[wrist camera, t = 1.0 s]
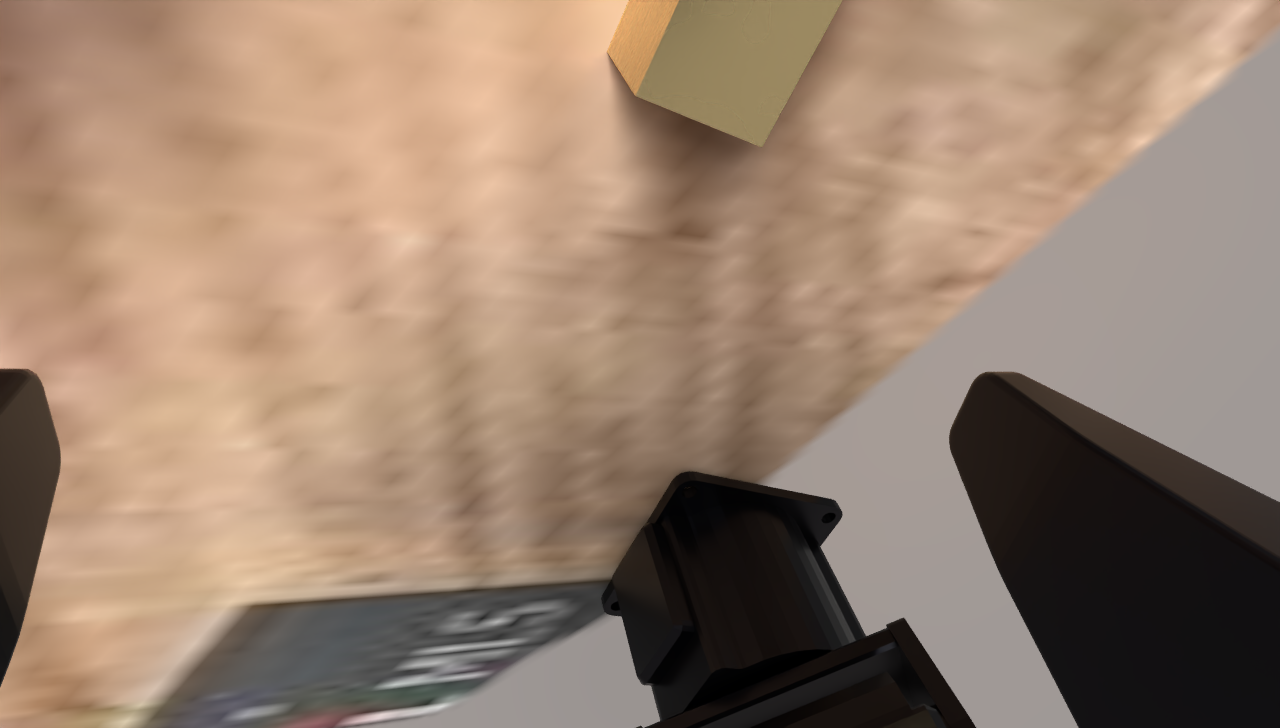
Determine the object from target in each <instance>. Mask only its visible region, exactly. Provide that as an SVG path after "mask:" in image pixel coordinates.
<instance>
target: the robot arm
mask: <svg viewBox="0 0 1280 728" xmlns="http://www.w3.org/2000/svg"><path fill="white" fill-rule="evenodd" d="M949 444H950V450H951V453H952V456H953V458H954V461H955V463H956V466H957V468H958V471H959V473H960V476H961V479H962V481H963V483H964V486H965V489H966V491H967V494H968V496H969V499H970V501H971V504H972V506H973V509H974V512H975V514H976V517H977V519H978V522H979V524H980V527H981V529H982V532H983V534H984V537H985V539H986V542H987V544H988V547H989V549H990V552H991V554H992V556H993V559H994V561H995V563H996V566H997V568H998V570H999V572H1000V574H1001V577H1002V579H1003V581H1004V583H1005V585H1006V587H1007V589H1008V591H1009V593H1010V594H1011V597H1012V599H1013V601H1014V602H1015V604H1016V606H1017V608H1018V610H1019V612H1020V614H1021V616H1022V618H1023V620H1024V622H1025V624H1026V626H1027V627H1028V629H1029V632H1030V634H1031V636H1032V638H1033V639H1034V641H1035V643H1036V645H1037V647H1038V649H1039V651H1040V653H1041V655H1042V657H1043V659H1044V661H1045V663H1046V665H1047V667H1048V668H1049V671H1050V673H1051V675H1052V677H1053V678H1054V680H1055V682H1056V684H1057V686H1058V688H1059V690H1060V692H1061V694H1062V696H1063V698H1064V700H1065V702H1066V704H1067V706H1068V708H1069V710H1070V712H1071V714H1072V715H1073V717H1074V719H1075V721H1076V723H1077V725H1078V727H1079V728H1280V502H1278V501H1276V500H1274V499H1272V498H1270V497H1268V496H1266V495H1264V494H1262V493H1260V492H1258V491H1256V490H1254V489H1252V488H1250V487H1248V486H1246V485H1244V484H1242V483H1240V482H1238V481H1236V480H1234V479H1232V478H1230V477H1228V476H1226V475H1224V474H1222V473H1220V472H1217V471H1215V470H1214V469H1212V468H1210V467H1207V466H1206V465H1204V464H1202V463H1200V462H1197V461H1195V460H1194V459H1191V458H1190V457H1187V456H1185V455H1183V454H1181V453H1179V452H1177V451H1175V450H1173V449H1171V448H1169V447H1167V446H1165V445H1163V444H1161V443H1159V442H1157V441H1155V440H1153V439H1151V438H1149V437H1147V436H1145V435H1143V434H1141V433H1139V432H1137V431H1135V430H1133V429H1131V428H1129V427H1127V426H1125V425H1123V424H1121V423H1119V422H1117V421H1115V420H1113V419H1111V418H1109V417H1107V416H1105V415H1103V414H1101V413H1099V412H1097V411H1095V410H1093V409H1091V408H1089V407H1087V406H1085V405H1083V404H1081V403H1079V402H1077V401H1075V400H1073V399H1070V398H1069V397H1067V396H1065V395H1063V394H1061V393H1059V392H1057V391H1055V390H1053V389H1050V388H1048V387H1047V386H1045V385H1042V384H1041V383H1038V382H1037V381H1035V380H1033V379H1030V378H1028V377H1026V376H1024V375H1022V374H1020V373H1015V372H985V373H982V374H980V375H979V376H978V377H977V378H976V379H975V380H974V381H973V383H972V384H971V387H970V389H969V391H968V393H967V395H966V397H965V399H964V402H963V404H962V406H961V408H960V410H959V412H958V414H957V416H956V418H955V420H954V423H953V425H952V427H951V430H950V435H949ZM60 466H61V452H60V445H59V441H58V437H57V434H56V430H55V427H54V423H53V420H52V416H51V412H50V409H49V405H48V402H47V398H46V395H45V391H44V387H43V385H42V382H41V380H40V379H39V377H38V376H37V374H35V373H34V372H32V371H30V370H29V369H0V687H1V684H2V682H3V679H4V676H5V674H6V671H7V669H8V666H9V663H10V661H11V658H12V655H13V652H14V649H15V646H16V644H17V641H18V638H19V635H20V631H21V628H22V624H23V620H24V617H25V613H26V610H27V606H28V601H29V597H30V593H31V589H32V585H33V581H34V577H35V573H36V569H37V564H38V560H39V556H40V552H41V548H42V544H43V540H44V536H45V532H46V527H47V523H48V519H49V515H50V511H51V507H52V503H53V499H54V495H55V490H56V486H57V482H58V478H59V473H60ZM689 486H691V487H690V488H687V489H685V488H686V487H689ZM841 518H842V511H841V509H840V507H839V505H838V504H837V503H836V501H835V500H832V499H828V498H823V497H818V496H813V495H808V494H803V493H798V492H793V491H787V490H783V489H778V488H773V487H768V486H763V485H758V484H753V483H748V482H743V481H738V480H733V479H728V478H723V477H718V476H712V475H707V474H702V473H697V472H684V473H681V474H679V475H678V476H676V477H675V478H674V479H673V481H672V482H671V484H670V486H669V487H668V489H667V490H666V492H665V494H664V495H663V497H662V499H661V500H660V502H659V504H658V505H657V507H656V508H655V510H654V512H653V513H652V515H651V517H650V518H649V520H648V522H647V523H646V525H645V526H644V527H643V528H642V529H641V530H640V532H639V534H638V535H637V537H636V539H635V540H634V542H633V543H632V545H631V547H630V548H629V550H628V552H627V553H626V555H625V557H624V558H623V560H622V562H621V563H620V565H619V566H618V568H617V570H616V571H615V573H614V575H613V578H612V580H611V582H610V584H609V585H608V587H607V589H606V590H605V592H604V594H603V595H602V598H601V599H602V604H603V608H604V612H606V613H607V614H609V615H613V616H622V619H623V623H624V627H625V630H626V635H627V639H628V643H629V647H630V651H631V654H632V658H633V663H634V666H635V670H636V674H637V677H638V679H639V680H640V682H641V684H643V685H650V686H651V687H652V691H653V694H654V698H655V702H656V705H657V710H658V713H659V717H660V722H657V723H655V724H652V725H650V726H647V727H645V728H976V727H975V725H974V723H973V722H972V720H971V719H970V717H969V716H968V714H967V713H966V711H965V709H964V708H963V707H962V705H961V703H960V702H959V700H958V699H957V697H956V696H955V694H954V693H953V691H952V690H951V688H950V687H949V685H948V684H947V682H946V681H945V679H944V678H943V676H942V675H941V673H940V672H939V670H938V668H937V667H936V665H935V664H934V662H933V661H932V659H931V658H930V656H929V655H928V653H927V652H926V650H925V649H924V647H923V646H922V644H921V643H920V641H919V640H918V638H917V637H916V635H915V634H914V632H913V631H912V629H911V628H910V626H909V625H908V623H907V621H906V620H905V619H904V618H901V619H899V620H896V621H894V622H891V623H889V624H887V625H886V626H887V628H886V629H883V630H881V631H878V632H876V633H873V634H871V635H869V636H866V635H865V633H864V631H863V629H862V628H861V625H860V623H859V621H858V620H857V618H856V616H855V614H854V612H853V610H852V608H851V606H850V604H849V602H848V600H847V598H846V596H845V594H844V592H843V590H842V589H841V586H840V584H839V582H838V580H837V578H836V576H835V575H834V573H833V571H832V569H831V567H830V565H829V563H828V561H827V559H826V557H825V555H824V553H823V551H822V549H821V547H820V546H821V545H822V543H823V542H824V541H825V539H826V538H827V537H828V536H829V534H830V533H831V532H832V530H833V529H834V528H835V526H836V525H837V524H838V522H839V521H840V519H841ZM636 728H643V727H642V726H639V727H636Z"/></svg>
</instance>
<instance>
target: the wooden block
mask: <svg viewBox="0 0 1280 728" xmlns="http://www.w3.org/2000/svg"><path fill="white" fill-rule="evenodd" d="M841 2H842V0H629V2H628V4H627V6H626V8H625V11H624V13H623V15H622V18H621V20H620V22H619V25H618V27H617V29H616V32H615V34H614V36H613V39H612V41H611V43H610V46H609V48H608V50H607V52H608V54H609V56H610V57H611V59H612V60H613V62H614V63H615V65H616V67H617V68H618V70H619V71H620V73H621V74H622V76H623V78H624V79H625V81H626V82H627V84H628V85H629V87H630V89H631V90H632V92H633V93H634V95H635V96H636V97H639V98H641V99H644V100H646V101H648V102H651V103H653V104H656V105H658V106H661V107H663V108H666V109H668V110H671V111H673V112H676V113H678V114H681V115H683V116H685V117H688V118H690V119H693V120H695V121H698V122H700V123H703V124H705V125H708V126H710V127H713V128H715V129H717V130H720V131H722V132H725V133H727V134H730V135H732V136H735V137H737V138H740V139H742V140H745V141H747V142H749V143H752V144H754V145H757V146H759V147H762V146H763V144H764V143H765V141H766V139H767V137H768V135H769V133H770V132H771V130H772V128H773V126H774V124H775V122H776V121H777V119H778V117H779V115H780V113H781V112H782V110H783V108H784V106H785V104H786V102H787V101H788V99H789V97H790V95H791V93H792V91H793V90H794V88H795V86H796V84H797V82H798V81H799V79H800V77H801V75H802V73H803V71H804V70H805V68H806V66H807V64H808V62H809V60H810V59H811V57H812V55H813V53H814V51H815V50H816V48H817V46H818V44H819V42H820V40H821V39H822V37H823V35H824V33H825V31H826V29H827V28H828V26H829V24H830V22H831V20H832V19H833V17H834V15H835V13H836V11H837V9H838V8H839V6H840V4H841Z"/></svg>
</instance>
